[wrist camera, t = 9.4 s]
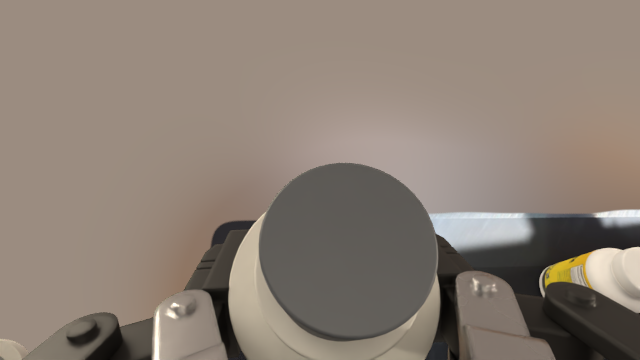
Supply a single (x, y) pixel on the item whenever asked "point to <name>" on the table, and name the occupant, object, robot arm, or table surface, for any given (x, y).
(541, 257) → the table surface
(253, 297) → the white bottle
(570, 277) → the pill bottle
